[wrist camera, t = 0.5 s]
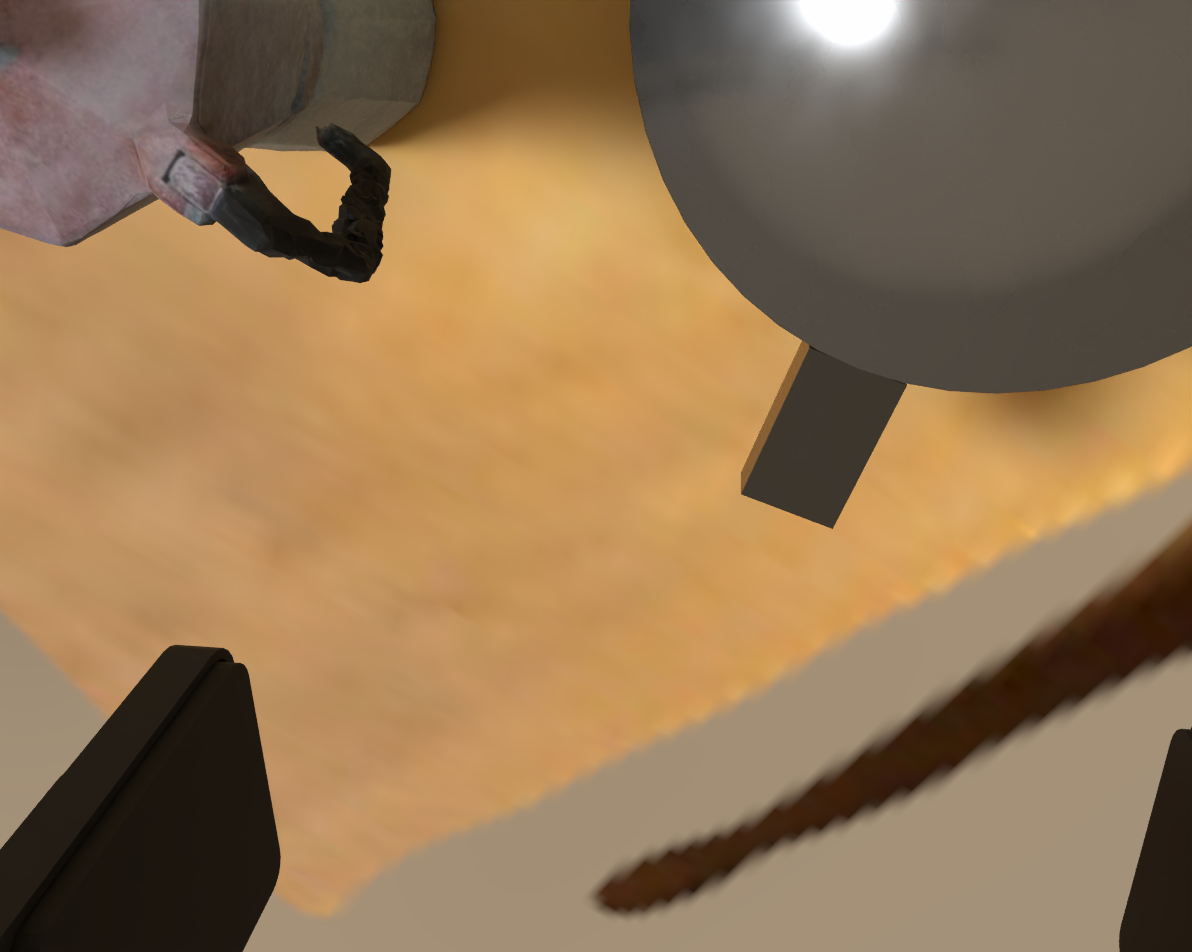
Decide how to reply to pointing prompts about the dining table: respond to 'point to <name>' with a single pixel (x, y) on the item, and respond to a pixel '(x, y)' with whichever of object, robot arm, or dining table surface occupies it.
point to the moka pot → (204, 114)
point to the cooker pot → (927, 198)
